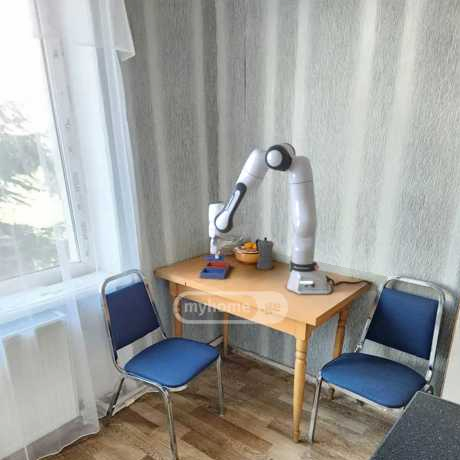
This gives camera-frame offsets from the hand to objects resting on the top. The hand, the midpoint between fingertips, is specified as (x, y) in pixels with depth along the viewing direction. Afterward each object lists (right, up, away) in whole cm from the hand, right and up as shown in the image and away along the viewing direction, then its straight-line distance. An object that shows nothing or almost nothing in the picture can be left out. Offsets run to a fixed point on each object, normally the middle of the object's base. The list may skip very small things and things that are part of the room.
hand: (217, 257), depth 215 cm
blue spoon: (-2, -1, +1) cm, 3 cm away
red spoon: (-1, -5, +15) cm, 15 cm away
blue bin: (-2, -10, +5) cm, 11 cm away
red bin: (0, -5, +15) cm, 16 cm away
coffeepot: (+27, -3, +18) cm, 33 cm away
